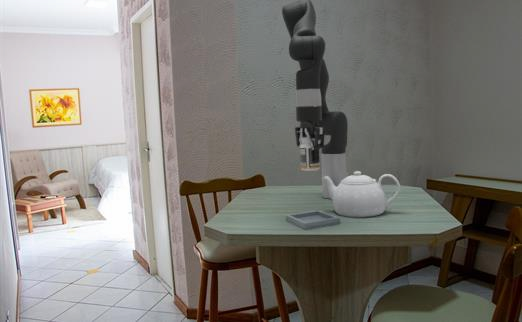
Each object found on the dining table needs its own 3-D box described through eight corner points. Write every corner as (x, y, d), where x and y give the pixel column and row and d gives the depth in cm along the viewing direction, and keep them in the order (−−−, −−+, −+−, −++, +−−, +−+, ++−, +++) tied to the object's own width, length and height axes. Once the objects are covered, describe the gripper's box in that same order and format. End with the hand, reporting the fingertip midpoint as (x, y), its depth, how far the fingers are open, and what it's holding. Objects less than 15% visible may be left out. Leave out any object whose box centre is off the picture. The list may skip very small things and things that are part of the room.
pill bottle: (320, 168, 130) (319, 136, 129) (319, 171, 124) (318, 137, 123) (301, 168, 131) (300, 136, 130) (299, 171, 125) (298, 137, 124)
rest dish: (318, 215, 137) (318, 210, 137) (340, 223, 126) (339, 217, 126) (285, 220, 132) (285, 215, 132) (304, 229, 121) (304, 223, 121)
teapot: (356, 222, 127) (355, 177, 126) (320, 211, 144) (319, 171, 142) (402, 213, 136) (401, 171, 134) (363, 203, 152) (362, 166, 151)
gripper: (286, 106, 131) (288, 160, 133) (309, 104, 118) (311, 165, 119) (307, 105, 134) (309, 158, 135) (332, 103, 120) (334, 162, 122)
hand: (310, 161), depth 127 cm, fingers closed on pill bottle, 5 cm apart
